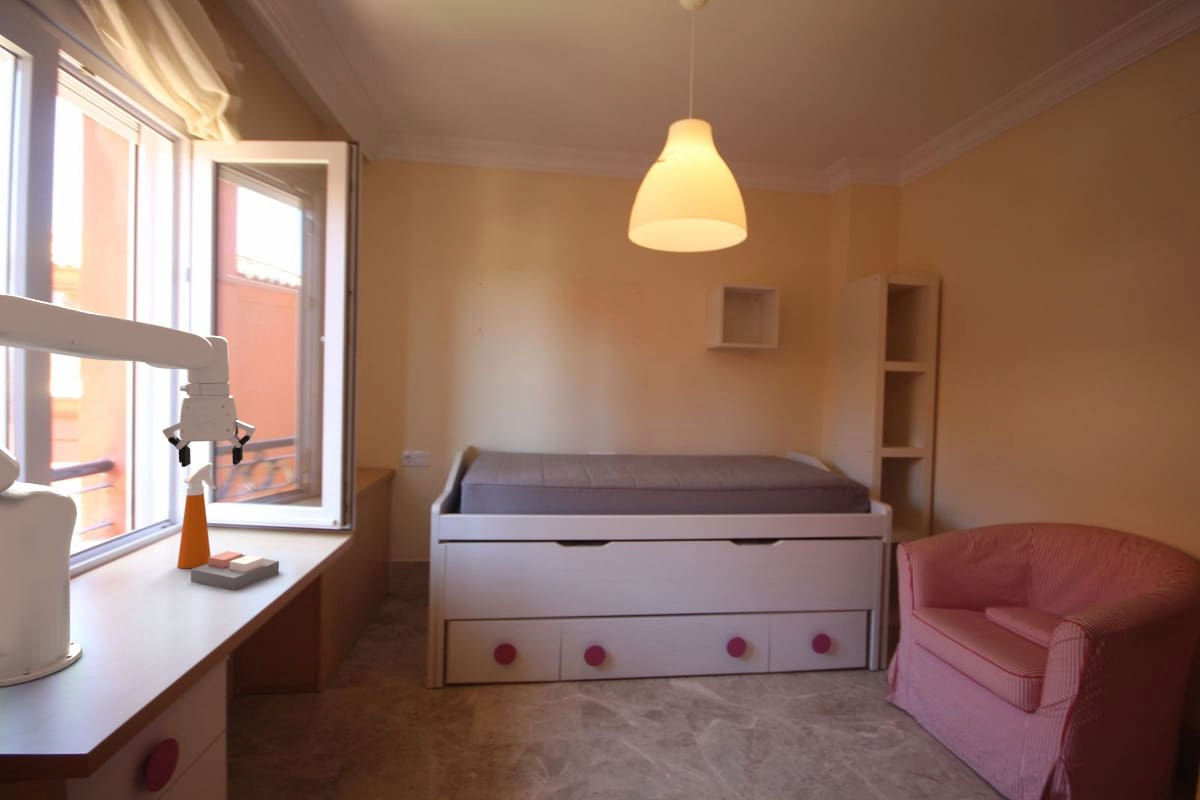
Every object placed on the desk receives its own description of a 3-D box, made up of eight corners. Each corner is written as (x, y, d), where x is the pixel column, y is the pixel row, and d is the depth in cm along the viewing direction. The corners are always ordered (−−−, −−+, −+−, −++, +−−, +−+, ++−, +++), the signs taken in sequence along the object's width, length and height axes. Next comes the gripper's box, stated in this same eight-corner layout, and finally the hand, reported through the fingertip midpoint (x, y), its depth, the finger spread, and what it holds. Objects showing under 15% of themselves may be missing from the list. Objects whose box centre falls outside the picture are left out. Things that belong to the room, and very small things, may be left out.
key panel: (234, 590, 122) (234, 578, 122) (190, 581, 126) (191, 569, 126) (278, 572, 133) (278, 561, 133) (237, 564, 137) (237, 553, 137)
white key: (245, 573, 125) (245, 564, 125) (229, 570, 127) (229, 561, 127) (263, 566, 130) (263, 557, 130) (248, 564, 132) (248, 554, 131)
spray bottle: (227, 555, 144) (228, 462, 143) (198, 569, 133) (199, 469, 132) (201, 554, 144) (202, 461, 143) (170, 568, 133) (171, 468, 132)
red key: (223, 569, 127) (223, 560, 127) (208, 566, 129) (208, 557, 129) (242, 562, 132) (242, 553, 132) (227, 560, 134) (228, 551, 133)
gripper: (154, 391, 110) (157, 470, 111) (249, 392, 116) (251, 466, 117) (169, 389, 117) (172, 463, 118) (258, 389, 123) (260, 459, 124)
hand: (211, 464), depth 118 cm, fingers open, 9 cm apart
